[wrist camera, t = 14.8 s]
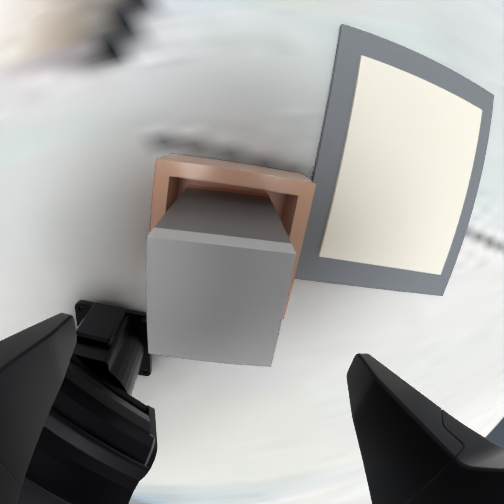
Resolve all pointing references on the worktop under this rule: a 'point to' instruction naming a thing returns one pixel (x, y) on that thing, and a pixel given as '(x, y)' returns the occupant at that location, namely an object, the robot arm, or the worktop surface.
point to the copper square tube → (238, 178)
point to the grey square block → (217, 277)
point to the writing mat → (394, 169)
